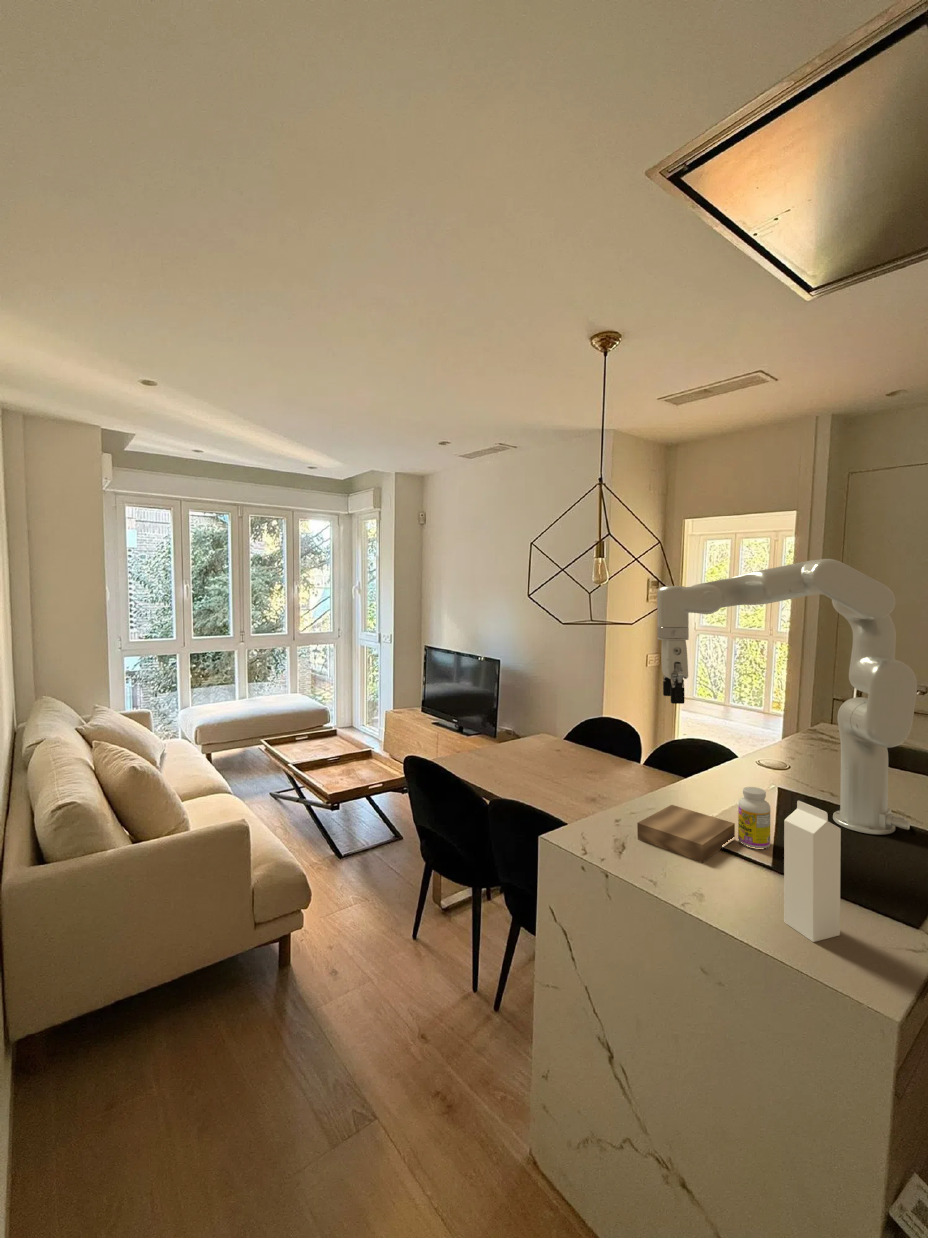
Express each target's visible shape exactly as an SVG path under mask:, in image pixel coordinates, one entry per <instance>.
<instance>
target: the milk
mask: <svg viewBox="0 0 928 1238" xmlns="http://www.w3.org/2000/svg"><path fill="white" fill-rule="evenodd" d="M828 816H829V815H828V812H827V811H825V810H822V809H821V808H818V807H816V806H813V805H810V804H808V803H806V802H803V801H801V800H797V803H796V809H795V810H794V811H793V812H792V813H790V814H789V815H788V816H787V817H786V818H785V819H784V821H783V822H784V823H783V824H784V826H783V827H784V829H783V830H784V831H783V832H784V833H783V834H784V835H783V841H784V842H783V843H784V844H783V845H784V846H783V847H784V851H783V852H784V854H783V857H784V859H783V863H784V864H783V873H784V874H783V876H784V879H783V880H784V881H783V899H784V900H783V906H784V907H783V909H784V910H783V913H784V914H783V922H784V923H785V924H786V925H788V927H790V928H792V929H794V931H796V932H797V933H799V934H800V935H801V936H803V937H805V939H808V940H809V941H811V942H812V943H816V942H819V941H824V940H827V939H830V938H831V939H832V938H834V937H838V936H840V935H841V852H842V851H841V850H842V849H841V848H842V847H841V845H842V843H841V841H842V837H841V835H842V834H841V832H842V830H841V829H842V828H841V827H838V826H837V825H835V824H833V823H832V822H830V821H829V819H828V818H829V817H828Z"/></svg>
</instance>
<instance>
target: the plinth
mask: <svg viewBox="0 0 928 1238" xmlns="http://www.w3.org/2000/svg"><path fill="white" fill-rule="evenodd" d="M636 824H637V826H636V827H637V839H638V840H639V841H642V842H645V843H647V844H650V845H653V846H656V847H659V848H661V849H664V850H667V851H669V852H672V853H675V854H678V855H680V856H682V857H686V858H688V859H691V860H694V861H696V862H699V863H704V862H706V861H707V860H708V859H710V858H711V857H713V856H714V855H715V854H717V853H718V852H719V851H721V850H722V849H721V847H722V845H723V844H725V843H726V842H728V840H730V839H732V838H733V837H736V835H735V833H736V828H735V824H736V823H734V822H731V821H728V820H724V819H722V818H717V817H715V816H711V815H708V814H705V813H701V812H697V811H694V810H691V809H688V808H684V807H681V806H677V805H674V804H670V805H668V806H667V807H664V808H662V809H660V810H659V811H656V812H655V813H654V814H651V815H650V816H648V817H646V818H643V819H642V820H639V822H637V823H636ZM720 849H721V850H720Z"/></svg>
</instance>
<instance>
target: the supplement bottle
mask: <svg viewBox="0 0 928 1238" xmlns="http://www.w3.org/2000/svg"><path fill="white" fill-rule="evenodd" d="M742 794H743V797H742V798H740V799H739V800H738V803H737V804H738V805H737V807H738V810H737V811H738V813H737V814H738V817H737V818H738V819H737V821H738V823H737V824H738V826H737V827H738V829H737V831H738V832H737V833H738V837H737V838H738V839H739V840H738V839H737V840H738V842H739V841H740V842H742V843H743V844H745V845H748V846H750V847H755V848H766V849H768V848H769V847H771V805H770V803H769V802H768V801H767V800H766V797H767V796H766V795H767V793H766V791H765V789H762V788H760V787H756V786H747V787H743V788H742ZM740 842H739V843H740ZM767 847H768V848H767Z"/></svg>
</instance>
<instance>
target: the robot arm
mask: <svg viewBox="0 0 928 1238" xmlns="http://www.w3.org/2000/svg"><path fill="white" fill-rule="evenodd" d="M656 593H657V594H656V597H657V598H656V602H657V603H656V604H657V606H656V607H657V610H656V611H657V620H656V621H657V640H659V641H661V652H660V655H661V657H660V658H661V673H662V674H663V677H662V678H663V680H662V695H663V696H664V697H670V703H671V704H674V705H675V704H679V705H680V704H682V705H683V704H684V705H685V681H684V680H687V679H688V678H689V662H688V650H687V649H688V648H687V642H686V641H689V635H690V632H689V631H690V630H689V628H690V627H689V626H690V625H689V613H690V614H701V615H711V614H714V613H716V612H718V611H719V610H720V609H722V608H727V607H734V606H756V605H758V606H759V605H766V604H767V605H768V604H772V603H778V602H783V601H788V600H793V599H798V598H804V597H808V596H814V595H824V596H826V597H827V598H829V599H831V604H832V607H833V608H834V610H835V611H836V613H838V614H839V615H841V616H842V617H843V618H845V620H846V621H847V622H848V624H849V626H850V627H851V632H852V646H851V647H852V648H851V655H850V662H849V669H848V681H849V683H850V684H851V685H850V686H852V687H853V688H854V689H856V690H858V692H862V693H864V694H867V695H868V696H867V697H863V696H862V697H861V696H860V697H857V696H856V697H852V698H849V699H847V700H845V701H844V702H843V703H842V704H841V705H840V707H839V709H838V710H837V717H836V718H837V719H836V720H837V725H838V732H839V739H840V795H839V796H840V802H839V803H840V804H839V805H840V807H839V810H836V811H834V812H833V815H832V819H833V821H834V822H835V823H836V824H838V825H839V826H841V827H843V828H845V829H848V830H851V831H854V832H858V833H864V834H868V835H880V836H881V835H890V834H893V833H894V832H895V831H896V827H897V828H899V829H902V830H903V829H904V830H907V831H908V830H910V828H911V827H910V826H911V822H910V821H908V820H907V819H906V818H905V817H901V816H896V815H895V814H893V813H892V809H891V808H889V805H888V803H889V802H888V801H889V799H888V797H889V796H888V794H889V788H888V787H889V784H888V783H889V752H888V748H894V747H898V746H900V745H902V744H903V743H905V741H906V740H907V739H908V737H909V736H910V734H911V733H910V732H911V730H912V727H913V723H914V722H913V720H914V714H915V709H916V708H915V707H916V701H917V692H918V682H917V677H916V674H915V673H914V671H913V670H912V668H911V667H910V666H909V665H908V664H906V663H904V662H903V661H901V660H897V659H896V645H897V644H896V643H897V630H896V627H895V623H894V621H893V619H892V617H891V615H890V614H891V613H892V612H893V611H894V609H895V607H896V597H895V594H894V592H893V591H892V590H891V589H890V588H889V587H888V586H887V585H885V584H884V583H882V582H880V581H878V580H876V579H874V578H873V577H870V576H869V575H867V574H865V573H863V572H861V571H859V570H857V569H856V568H853V567H852V566H850V565H848V564H846V563H844V562H842V561H840V560H837V559H833V558H820V559H812V560H806V561H801V562H797V563H791V564H786V565H780V566H777V567H771V568H765V569H760V570H756V571H752V572H751V571H750V572H748V573H744V574H741V575H738V576H737V575H736V576H731V577H728V578H723V579H718V580H712V581H706V582H703V583H698V584H693V585H691V586H685V585H684V586H683V585H665V586H661V587H658V589H657V592H656Z"/></svg>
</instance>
